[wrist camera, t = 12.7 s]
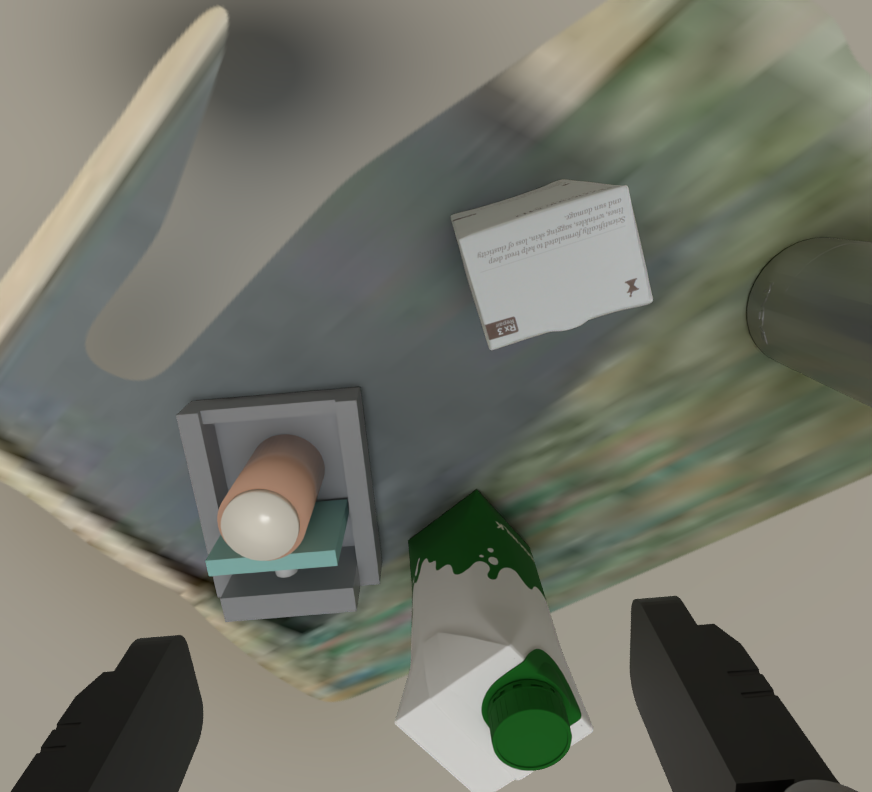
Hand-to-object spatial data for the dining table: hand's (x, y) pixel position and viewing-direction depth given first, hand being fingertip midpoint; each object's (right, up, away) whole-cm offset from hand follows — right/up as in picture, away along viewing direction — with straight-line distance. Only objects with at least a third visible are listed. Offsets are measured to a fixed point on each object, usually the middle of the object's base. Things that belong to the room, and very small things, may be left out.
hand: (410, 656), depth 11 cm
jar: (-11, -1, +35) cm, 37 cm away
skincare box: (+6, +15, +31) cm, 35 cm away
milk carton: (+3, -7, +39) cm, 40 cm away
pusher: (-10, -5, +36) cm, 38 cm away
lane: (-11, -2, +36) cm, 38 cm away
